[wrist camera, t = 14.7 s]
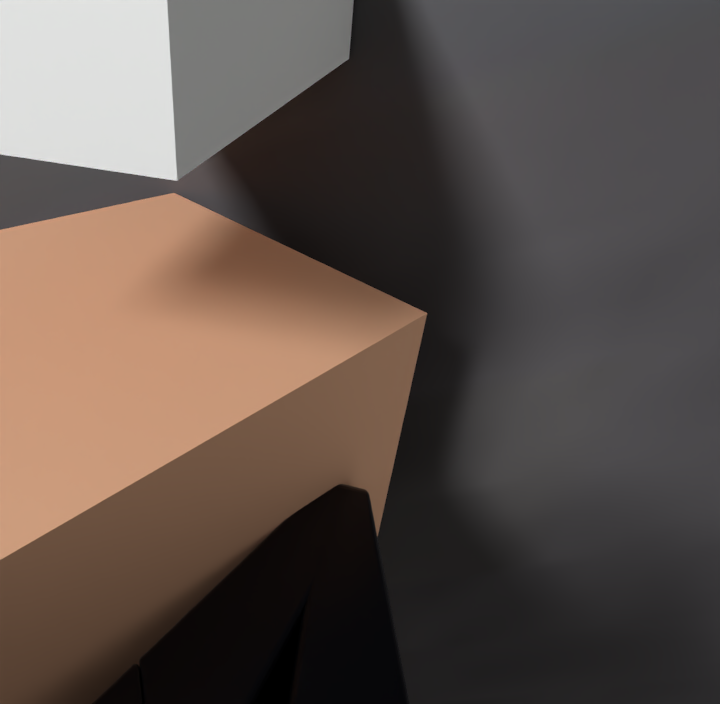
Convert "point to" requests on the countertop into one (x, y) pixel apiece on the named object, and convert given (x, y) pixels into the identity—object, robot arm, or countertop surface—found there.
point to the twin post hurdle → (156, 76)
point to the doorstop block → (170, 423)
